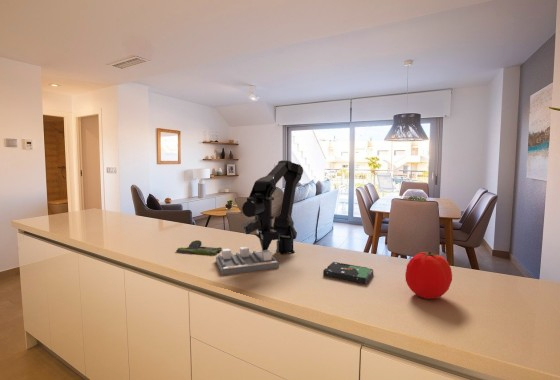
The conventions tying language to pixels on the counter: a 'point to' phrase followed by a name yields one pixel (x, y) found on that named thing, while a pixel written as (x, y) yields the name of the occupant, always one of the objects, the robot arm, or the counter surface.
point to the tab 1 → (226, 253)
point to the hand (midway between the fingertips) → (264, 252)
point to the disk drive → (348, 273)
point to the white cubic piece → (266, 255)
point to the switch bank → (245, 263)
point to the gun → (199, 249)
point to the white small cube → (244, 251)
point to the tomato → (428, 275)
